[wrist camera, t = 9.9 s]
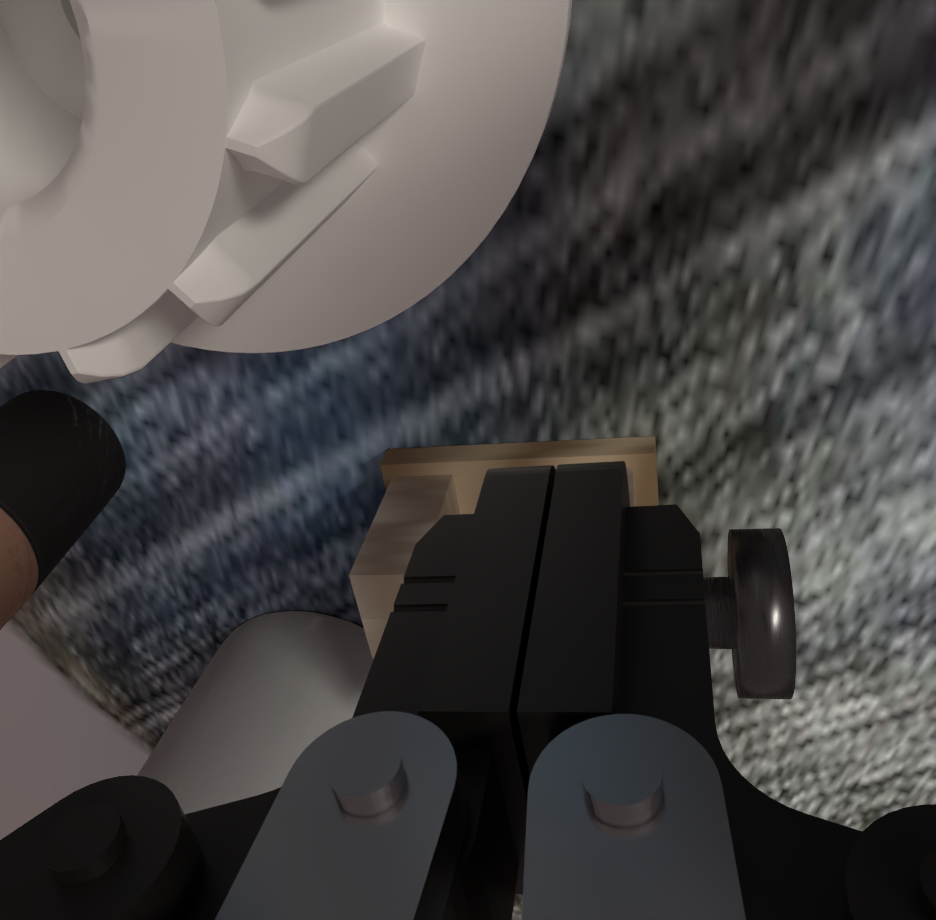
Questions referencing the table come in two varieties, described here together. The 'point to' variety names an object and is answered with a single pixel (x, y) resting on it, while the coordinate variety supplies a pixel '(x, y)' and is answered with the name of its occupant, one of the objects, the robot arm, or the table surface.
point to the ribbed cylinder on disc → (253, 165)
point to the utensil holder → (260, 707)
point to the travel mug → (49, 486)
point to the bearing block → (463, 502)
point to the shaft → (755, 614)
